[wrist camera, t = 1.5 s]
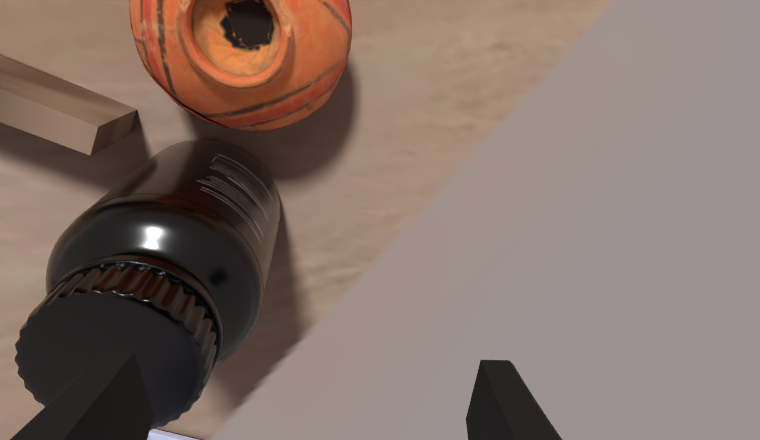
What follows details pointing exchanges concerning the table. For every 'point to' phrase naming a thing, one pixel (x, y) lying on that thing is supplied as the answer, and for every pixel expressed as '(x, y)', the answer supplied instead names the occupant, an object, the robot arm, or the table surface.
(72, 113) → the cradle
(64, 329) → the supplement bottle
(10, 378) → the table surface
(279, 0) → the pot
